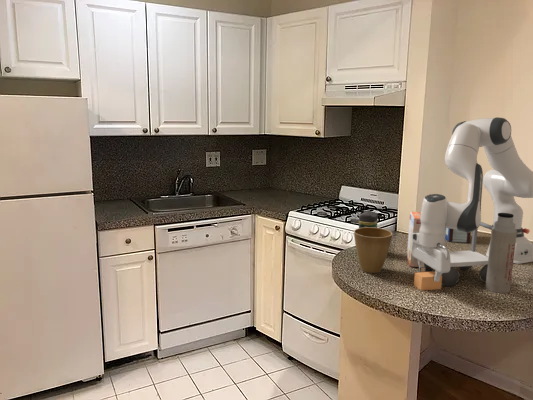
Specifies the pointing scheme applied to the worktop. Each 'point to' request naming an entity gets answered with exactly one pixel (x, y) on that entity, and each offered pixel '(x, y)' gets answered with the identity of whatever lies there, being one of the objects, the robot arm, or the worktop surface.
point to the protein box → (457, 236)
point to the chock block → (426, 281)
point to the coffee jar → (368, 219)
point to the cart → (464, 261)
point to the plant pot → (372, 247)
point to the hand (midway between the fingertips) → (428, 276)
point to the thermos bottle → (501, 254)
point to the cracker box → (413, 228)
